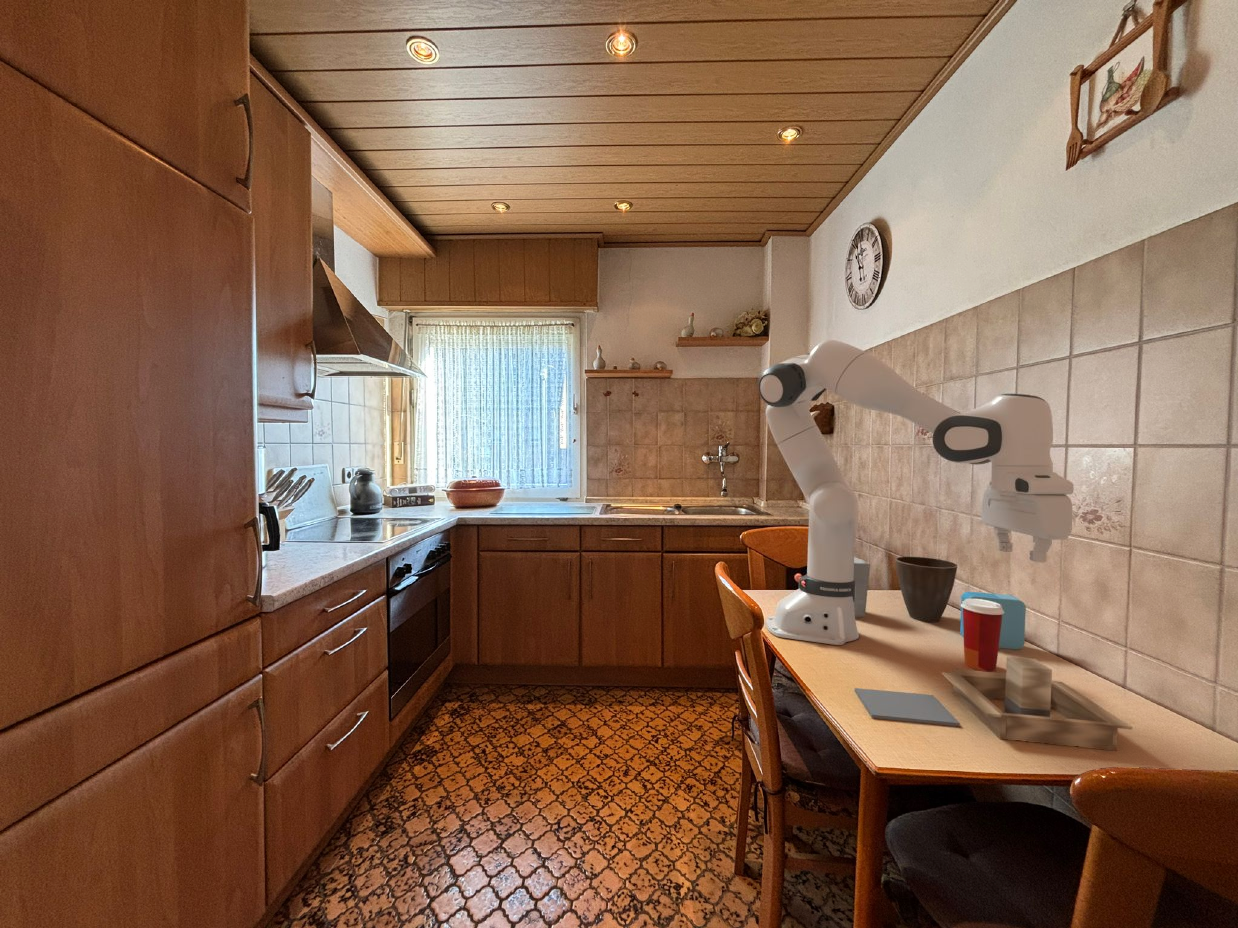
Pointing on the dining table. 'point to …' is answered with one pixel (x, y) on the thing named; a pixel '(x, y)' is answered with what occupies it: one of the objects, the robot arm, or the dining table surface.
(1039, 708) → the box
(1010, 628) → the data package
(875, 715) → the rubber mat
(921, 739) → the dining table surface
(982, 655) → the paper cup
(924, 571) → the plant pot
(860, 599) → the skincare box
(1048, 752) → the dining table surface
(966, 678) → the wooden frame
